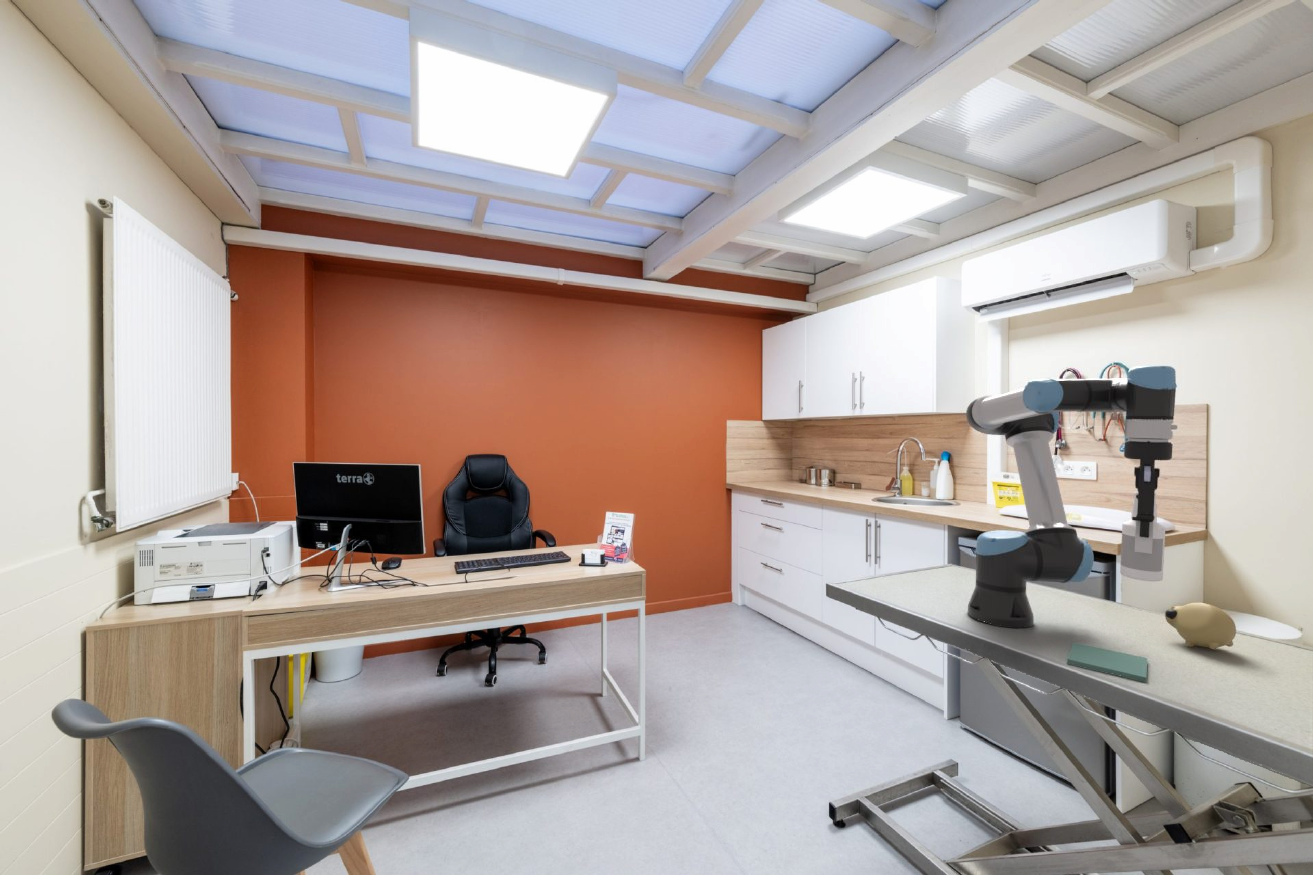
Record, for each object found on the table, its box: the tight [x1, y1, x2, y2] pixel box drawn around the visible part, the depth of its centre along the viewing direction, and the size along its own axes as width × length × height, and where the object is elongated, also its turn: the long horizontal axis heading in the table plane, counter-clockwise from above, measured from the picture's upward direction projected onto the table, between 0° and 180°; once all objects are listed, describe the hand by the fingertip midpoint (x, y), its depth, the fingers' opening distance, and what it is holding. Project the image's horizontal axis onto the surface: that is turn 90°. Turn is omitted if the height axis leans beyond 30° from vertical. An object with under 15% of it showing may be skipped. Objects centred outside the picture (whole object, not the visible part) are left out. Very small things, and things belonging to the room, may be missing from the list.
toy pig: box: [1164, 602, 1237, 650], centre depth 131 cm, size 10×12×11 cm
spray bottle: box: [1119, 491, 1166, 582], centre depth 116 cm, size 7×7×18 cm
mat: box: [1066, 642, 1148, 683], centre depth 121 cm, size 13×13×1 cm
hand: (1142, 548), depth 116 cm, fingers closed on spray bottle, 7 cm apart
